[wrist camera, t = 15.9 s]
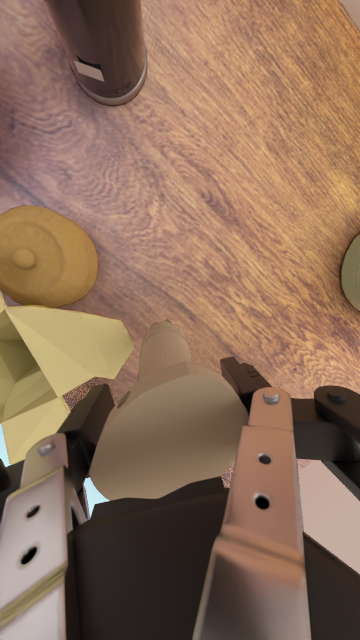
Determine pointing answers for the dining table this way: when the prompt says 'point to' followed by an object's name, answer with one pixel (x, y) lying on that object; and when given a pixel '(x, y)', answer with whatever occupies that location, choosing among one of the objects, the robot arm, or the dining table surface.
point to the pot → (45, 258)
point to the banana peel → (50, 367)
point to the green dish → (352, 273)
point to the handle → (168, 423)
